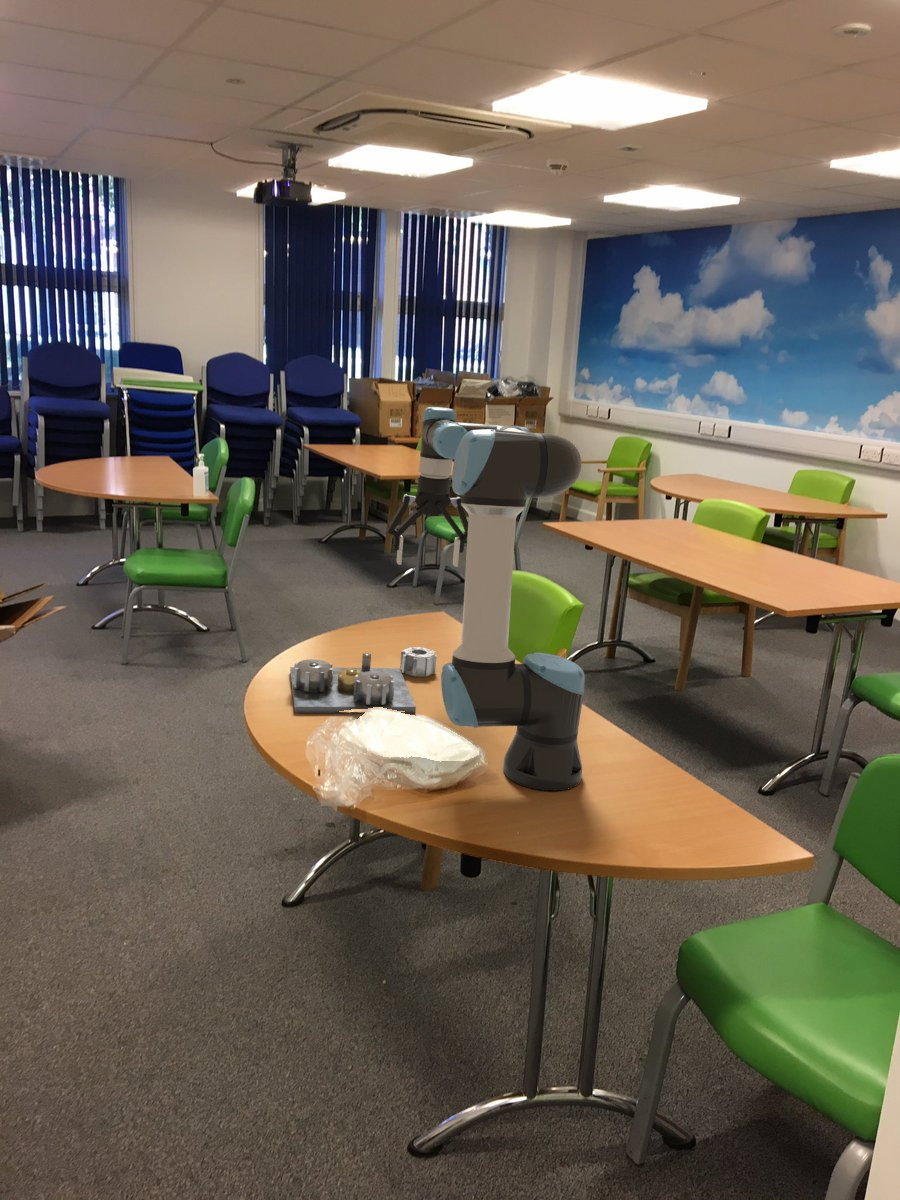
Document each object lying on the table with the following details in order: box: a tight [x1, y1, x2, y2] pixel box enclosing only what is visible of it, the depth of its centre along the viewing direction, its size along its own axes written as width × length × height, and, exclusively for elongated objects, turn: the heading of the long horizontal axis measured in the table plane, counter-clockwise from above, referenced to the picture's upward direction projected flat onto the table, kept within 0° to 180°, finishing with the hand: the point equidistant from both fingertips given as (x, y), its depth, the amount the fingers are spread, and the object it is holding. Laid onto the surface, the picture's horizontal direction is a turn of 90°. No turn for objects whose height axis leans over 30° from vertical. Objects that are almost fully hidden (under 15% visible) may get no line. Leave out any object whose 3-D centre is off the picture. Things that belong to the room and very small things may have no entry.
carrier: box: [289, 652, 417, 714], centre depth 210 cm, size 24×26×7 cm
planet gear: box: [399, 646, 438, 678], centre depth 228 cm, size 8×8×5 cm
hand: (427, 564), depth 221 cm, fingers open, 13 cm apart
